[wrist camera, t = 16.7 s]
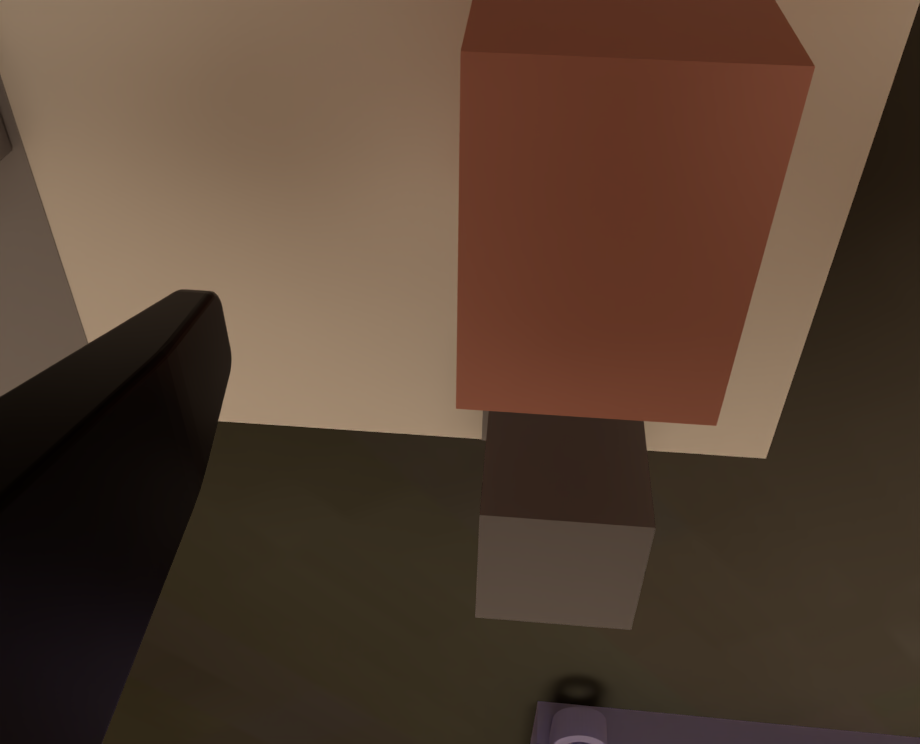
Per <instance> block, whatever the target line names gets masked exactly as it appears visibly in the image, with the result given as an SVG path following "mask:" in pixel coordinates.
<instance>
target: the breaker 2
mask: <svg viewBox="0 0 920 744" xmlns="http://www.w3.org/2000/svg"><path fill="white" fill-rule="evenodd" d="M655 528H656V527H655V518H654V509H653V500H652V491H651V482H650V473H649V464H648V455H647V446H646V437H645V429H644V421H635V420H620V419H604V418H589V417H574V416H559V415H544V414H528V413H513V412H498V411H489V413H488V425H487V436H486V448H485V459H484V471H483V482H482V494H481V505H480V519H479V542H478V566H477V590H476V613H475V617H477V618H489V619H502V620H514V621H527V622H539V623H552V624H565V625H577V626H590V627H602V628H615V629H627V630H631V628H632V624H633V620H634V616H635V612H636V607H637V603H638V599H639V595H640V591H641V587H642V583H643V578H644V574H645V570H646V566H647V562H648V558H649V553H650V549H651V545H652V541H653V537H654V533H655Z"/></svg>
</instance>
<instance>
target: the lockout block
mask: <svg viewBox="0 0 920 744" xmlns="http://www.w3.org/2000/svg"><path fill="white" fill-rule="evenodd" d="M814 69H815V65H814V64H813V62H812V60H811V59H810V57H809V55H808V54H807V52H806V50H805V49H804V47H803V46H802V44H801V42H800V41H799V39H798V37H797V36H796V34H795V32H794V31H793V29H792V27H791V26H790V24H789V22H788V21H787V19H786V17H785V16H784V14H783V12H782V11H781V9H780V7H779V6H778V4H777V2H776V1H775V0H472V4H471V8H470V12H469V17H468V21H467V25H466V30H465V34H464V39H463V43H462V47H461V56H460V133H459V210H458V287H457V364H456V409H467V410H483V411H498V412H513V413H528V414H544V415H559V416H574V417H589V418H604V419H620V420H635V421H650V422H665V423H681V424H696V425H711V426H716V425H717V422H718V418H719V415H720V411H721V407H722V404H723V400H724V396H725V393H726V389H727V385H728V382H729V378H730V375H731V371H732V367H733V364H734V360H735V356H736V353H737V349H738V345H739V342H740V338H741V335H742V331H743V327H744V324H745V320H746V316H747V313H748V309H749V305H750V302H751V298H752V295H753V291H754V287H755V284H756V280H757V276H758V273H759V269H760V265H761V262H762V258H763V255H764V251H765V247H766V244H767V240H768V236H769V233H770V229H771V225H772V222H773V218H774V215H775V211H776V207H777V204H778V200H779V196H780V193H781V189H782V185H783V182H784V178H785V175H786V171H787V167H788V164H789V160H790V156H791V153H792V149H793V145H794V142H795V138H796V135H797V131H798V127H799V124H800V120H801V116H802V113H803V109H804V105H805V102H806V98H807V95H808V91H809V87H810V84H811V80H812V76H813V73H814Z"/></svg>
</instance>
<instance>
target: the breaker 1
mask: <svg viewBox="0 0 920 744" xmlns="http://www.w3.org/2000/svg"><path fill="white" fill-rule="evenodd" d="M11 151H12V148H11V145H10V142H9V140H8V137H7V134H6V131H5V128H4V125H3V122H2V119H1V116H0V161H1V160H2V159H3V158H4V157H5V156H7V155H8V154H9V153H10V152H11Z"/></svg>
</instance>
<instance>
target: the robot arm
mask: <svg viewBox="0 0 920 744" xmlns="http://www.w3.org/2000/svg"><path fill="white" fill-rule="evenodd" d="M231 363H232V356H231V348H230V343H229V338H228V332H227V327H226V322H225V317H224V312H223V307H222V303H221V300H220V298H219V296H218V295H217V294H216V293H215V292H213V291H206V290H190V289H180V290H177V291H175V292H173V293H171V294H170V295H168V296H166V297H165V298H163V299H161V300H160V301H158V302H156V303H155V304H153V305H151V306H150V307H148V308H146V309H145V310H143V311H141V312H140V313H138V314H136V315H135V316H133V317H131V318H130V319H128V320H126V321H125V322H123V323H121V324H120V325H118V326H117V327H115V328H113V329H112V330H110V331H108V332H107V333H105V334H103V335H102V336H100V337H98V338H97V339H95V340H93V341H92V342H90V343H88V344H87V345H85V346H83V347H82V348H80V349H78V350H77V351H75V352H73V353H72V354H70V355H68V356H67V357H65V358H63V359H62V360H60V361H58V362H57V363H55V364H53V365H52V366H50V367H49V368H47V369H45V370H44V371H42V372H40V373H39V374H37V375H35V376H34V377H32V378H30V379H29V380H27V381H25V382H24V383H22V384H20V385H19V386H17V387H15V388H14V389H12V390H10V391H9V392H7V393H5V394H4V395H2V396H0V744H102V742H103V739H104V736H105V734H106V731H107V729H108V726H109V724H110V721H111V718H112V716H113V713H114V711H115V708H116V706H117V703H118V701H119V698H120V695H121V693H122V690H123V688H124V685H125V683H126V680H127V677H128V675H129V672H130V670H131V667H132V665H133V662H134V660H135V657H136V654H137V652H138V649H139V647H140V644H141V642H142V639H143V636H144V634H145V631H146V629H147V626H148V624H149V621H150V619H151V616H152V613H153V611H154V608H155V606H156V603H157V601H158V598H159V595H160V593H161V590H162V588H163V585H164V583H165V580H166V578H167V575H168V572H169V570H170V567H171V565H172V562H173V560H174V557H175V554H176V552H177V549H178V547H179V544H180V542H181V539H182V537H183V534H184V531H185V529H186V526H187V524H188V521H189V519H190V516H191V513H192V511H193V508H194V506H195V503H196V500H197V497H198V494H199V492H200V489H201V485H202V482H203V478H204V475H205V471H206V467H207V463H208V460H209V456H210V452H211V448H212V444H213V440H214V436H215V432H216V428H217V424H218V420H219V416H220V412H221V408H222V404H223V400H224V396H225V392H226V388H227V384H228V380H229V376H230V371H231Z"/></svg>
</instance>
